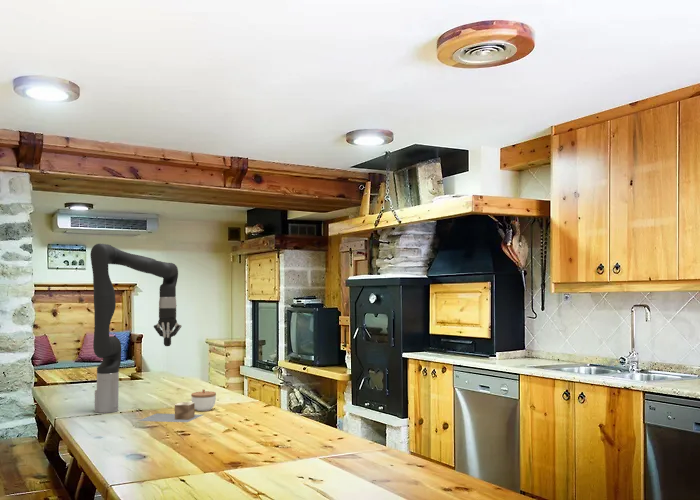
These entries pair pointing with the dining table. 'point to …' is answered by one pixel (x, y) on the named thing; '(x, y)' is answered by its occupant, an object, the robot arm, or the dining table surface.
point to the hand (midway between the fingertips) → (167, 346)
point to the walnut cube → (185, 410)
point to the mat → (166, 418)
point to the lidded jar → (204, 400)
